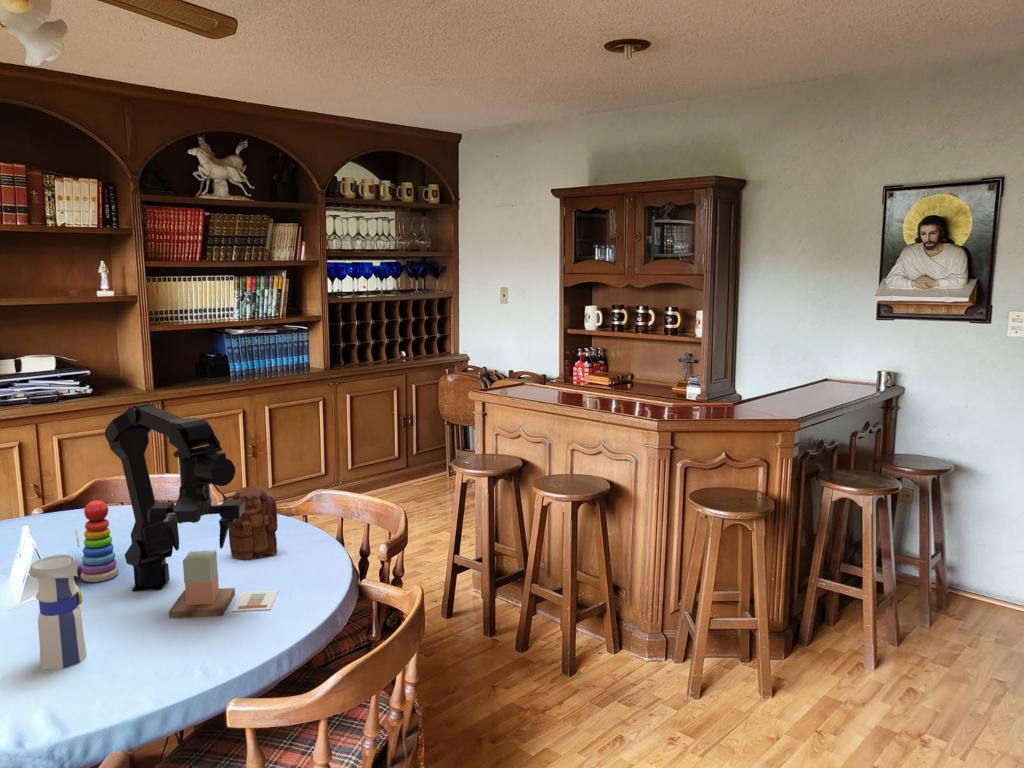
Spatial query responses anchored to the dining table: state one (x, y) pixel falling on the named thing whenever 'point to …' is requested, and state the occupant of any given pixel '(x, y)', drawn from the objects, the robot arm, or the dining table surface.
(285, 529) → the dining table surface
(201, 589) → the terracotta block
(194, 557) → the sage block
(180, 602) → the walnut plate
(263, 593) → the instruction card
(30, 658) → the dining table surface
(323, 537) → the dining table surface
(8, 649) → the dining table surface
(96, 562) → the stacking toy
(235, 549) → the wooden figurine
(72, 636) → the beige and blue vase
